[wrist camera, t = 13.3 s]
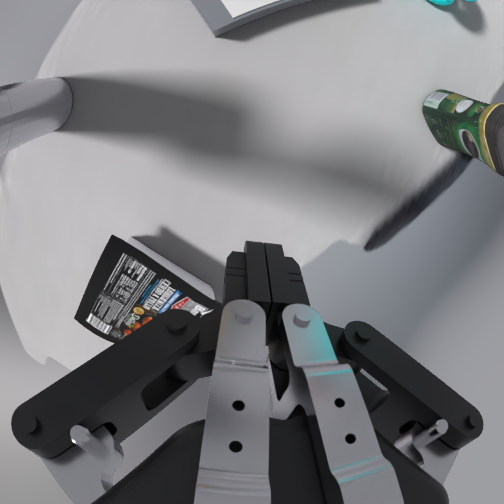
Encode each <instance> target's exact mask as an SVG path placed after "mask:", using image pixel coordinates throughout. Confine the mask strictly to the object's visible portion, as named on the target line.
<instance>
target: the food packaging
mask: <svg viewBox="0 0 504 504" xmlns="http://www.w3.org/2000/svg"><path fill="white" fill-rule="evenodd" d="M222 305H223V304H221V303H219V302H217V301H215V296H214V292H213V290H212V288H211V286H210V285H208V284H206V283H205V282H203V281H201V280H200V279H198V278H196V277H195V276H193V275H191V274H190V273H188V272H186V271H185V270H183V269H181V268H180V267H178V266H177V265H175V264H173V263H172V262H170V261H168V260H167V259H165V258H164V257H162V256H160V255H159V254H157V253H156V252H154V251H152V250H151V249H149V248H148V247H146V246H145V245H143V244H142V243H140V242H138V241H137V240H135V239H134V238H132V237H129V238H128V239H127V240H126V241H124V240H122V239H120V238H118V237H116V236H114V235H112V236H111V237H110V239H109V241H108V243H107V245H106V247H105V249H104V251H103V253H102V255H101V257H100V259H99V261H98V263H97V265H96V267H95V270H94V272H93V274H92V276H91V279H90V281H89V283H88V286H87V288H86V290H85V293H84V295H83V298H82V300H81V303H80V305H79V308H78V310H77V313H76V315H75V317H74V319H75V320H77V321H78V322H79V323H80V324H81V325H83V326H84V327H85V328H87V329H88V330H90V331H91V332H93V333H94V334H96V335H98V336H99V337H101V338H103V339H105V340H108V341H110V342H112V343H116V342H118V341H119V340H121V339H122V338H124V337H126V336H127V335H129V334H130V333H132V332H133V331H135V330H136V329H138V328H139V327H141V326H142V325H144V324H145V323H147V322H148V321H150V320H151V319H153V318H155V317H156V316H158V315H159V314H161V313H162V312H164V311H166V310H170V309H184V310H187V311H189V312H191V313H192V314H194V315H195V316H196V317H197V318H203V317H208V316H212V315H214V314H216V313H217V312H219V311H220V310H221V309H222Z"/></svg>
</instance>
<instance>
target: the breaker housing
mask: <svg viewBox="0 0 504 504" xmlns="http://www.w3.org/2000/svg"><path fill="white" fill-rule="evenodd" d="M309 1H313V0H191V2H192V3H193V5H194V6H195V8H196V9H197V10H198V12H199V13H200V15H201V16H202V18H203V19H204V21H205V22H206V24H207V25H208V27H209V28H210V30H211V31H212V33H213V34H214V36H215V37H217V36H219V35H221V34H223V33H226V32H228V31H230V30H232V29H234V28H236V27H239V26H241V25H243V24H246V23H248V22H250V21H253V20H255V19H258V18H261V17H263V16H266V15H269V14H271V13H274V12H277V11H280V10H283V9H286V8H289V7H292V6H295V5H299V4H302V3H306V2H309Z"/></svg>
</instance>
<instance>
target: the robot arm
mask: <svg viewBox="0 0 504 504" xmlns="http://www.w3.org/2000/svg"><path fill="white" fill-rule="evenodd" d="M72 102H73V100H72V92H71V89H70V87H69V85H68V84H67V82H66V81H64V80H63V79H61V78H46V79H37V80H31V81H24V82H19V83H13V84H8V85H4V86H0V155H2V154H4V153H6V152H8V151H10V150H12V149H14V148H16V147H18V146H20V145H22V144H24V143H26V142H29V141H31V140H33V139H35V138H38V137H40V136H42V135H45V134H47V133H49V132H52V131H54V130H57V129H59V128H60V127H61V126H62V125H63V124H64V123H65V122H66V120H67V119H68V117H69V115H70V112H71V109H72ZM265 346H268V347H269V354H268V357H267V361H266V363H267V366H266V365H265ZM361 369H364V370H365V371H366V372H367V373H369V374H370V375H371V376H372V377H374V378H375V379H376V380H377V381H378V382H380V383H381V384H382V385H383V386H385V387H386V388H387V389H388V390H387V391H385V390H382V389H380V388H379V387H378V386H377V385H375V384H374V383H373V382H372V381H371V380H369V379H368V378H367V377H366V376H364V375H363V374H362V373H361V372H360V370H361ZM208 376H212V377H211V384H210V391H209V398H208V405H207V411H206V418H205V419H204V420H200V421H197V422H193V423H191V424H188V425H186V426H185V427H183V428H181V429H179V430H178V431H177V432H175V433H174V434H173V435H172V436H171V437H169V438H168V439H167V440H166V441H165V442H164V443H163V444H162V445H161V446H160V447H159V448H157V449H156V450H155V451H154V452H153V453H152V454H151V455H150V456H148V457H147V458H146V459H145V460H144V461H143V462H142V463H140V464H139V465H138V466H137V467H136V468H135V469H133V470H132V471H131V472H130V473H129V474H128V475H126V476H125V477H124V478H123V479H122V480H120V481H119V482H118V483H117V484H115V485H114V486H113V483H112V480H113V476H114V473H115V472H116V471H117V469H118V468H119V467H120V466H121V464H122V463H123V459H124V453H123V449H122V447H121V445H120V443H121V442H122V441H123V440H125V439H126V438H127V437H129V436H130V435H131V434H133V433H134V432H135V431H136V430H138V429H139V428H140V427H142V426H143V425H144V424H145V423H147V422H148V421H149V420H150V419H152V418H153V417H154V416H155V415H156V414H158V413H159V412H160V411H161V410H163V409H164V408H165V407H166V406H167V405H169V404H170V403H171V402H172V401H173V400H175V399H176V398H177V397H178V396H179V395H181V394H182V393H183V392H184V391H185V390H186V389H188V388H189V387H190V386H191V385H192V384H193V383H194V382H195V381H196V380H197V379H198V378H203V377H208ZM269 381H270V386H271V392H272V398H273V404H274V410H273V418H270V417H269ZM11 422H12V423H11V425H12V431H13V434H14V436H15V438H16V439H17V441H18V442H19V443H20V444H21V445H23V446H24V447H26V448H27V449H29V450H30V451H32V452H34V453H35V454H36V455H37V456H39V457H40V458H41V459H42V460H43V462H44V463H45V465H46V466H47V468H48V469H49V471H50V472H51V474H52V475H53V477H54V478H55V479H56V481H57V482H58V483H59V485H60V486H61V487H62V489H63V490H64V491H65V493H66V494H67V495H68V496H69V498H70V499H71V500H72V501H73V503H74V504H449V498H448V495H447V492H446V490H445V488H444V487H443V483H444V481H445V479H446V477H447V475H448V473H449V471H450V469H451V467H452V465H453V463H454V461H455V458H456V456H457V454H458V452H459V450H460V448H462V447H463V446H465V445H466V444H468V443H470V442H471V441H473V440H474V439H476V438H477V437H479V436H480V434H481V433H482V430H483V419H482V416H481V414H480V412H479V411H478V410H477V409H476V408H475V407H474V406H473V405H471V404H470V403H469V402H468V401H466V400H465V399H464V398H463V397H461V396H460V395H459V394H457V393H456V392H455V391H454V390H453V389H451V388H450V387H449V386H448V385H446V384H445V383H444V382H443V381H441V380H440V379H439V378H438V377H436V376H435V375H434V374H432V373H431V372H430V371H429V370H427V369H426V368H425V367H424V366H422V365H421V364H420V363H418V362H417V361H416V360H415V359H413V358H412V357H411V356H410V355H408V354H407V353H405V352H404V351H403V350H402V349H401V348H399V347H398V346H397V345H395V344H394V343H393V342H392V341H390V340H389V339H388V338H386V337H385V336H384V335H382V334H381V333H380V332H379V331H377V330H376V329H375V328H373V327H372V326H371V325H369V324H367V323H365V322H361V321H353V322H350V323H348V324H347V325H346V327H345V329H344V328H340V327H337V326H333V325H330V324H327V323H325V322H323V321H322V318H321V316H320V315H319V313H318V312H317V311H316V310H315V309H313V308H311V307H310V303H309V299H308V295H307V292H306V289H305V285H304V282H303V277H302V275H301V271H300V267H299V265H298V263H297V262H296V261H295V260H294V259H293V258H292V257H284V253H283V248H282V245H281V244H272V243H264V244H263V243H262V242H253V241H246V242H245V247H244V252H235V251H232V252H231V254H230V255H229V256H228V257H227V262H226V270H225V279H224V288H223V305H222V309H221V310H220V311H219V312H217V313H216V314H214V315H212V316H208V317H203V318H197V317H196V316H195V315H194V314H192V313H191V312H189V311H187V310H184V309H170V310H166V311H164V312H162V313H161V314H159V315H158V316H156V317H155V318H153V319H151V320H150V321H148V322H147V323H145V324H144V325H142V326H141V327H139V328H138V329H136V330H135V331H133V332H132V333H130V334H129V335H127V336H126V337H124V338H122V339H121V340H119V341H118V342H116V343H115V344H113V345H112V346H110V347H109V348H107V349H106V350H104V351H103V352H101V353H99V354H98V355H96V356H95V357H93V358H92V359H90V360H89V361H87V362H86V363H84V364H83V365H81V366H80V367H78V368H77V369H75V370H73V371H72V372H70V373H69V374H67V375H66V376H64V377H63V378H61V379H60V380H58V381H57V382H55V383H54V384H52V385H50V386H49V387H47V388H46V389H45V390H43V391H41V392H40V393H38V394H37V395H35V396H34V397H32V398H30V399H29V400H28V401H26V402H24V403H23V404H21V405H20V406H19V407H18V408H17V409H16V410H15V412H14V413H13V416H12V421H11Z"/></svg>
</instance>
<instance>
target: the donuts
mask: <svg viewBox="0 0 504 504" xmlns="http://www.w3.org/2000/svg"><path fill="white" fill-rule="evenodd" d="M429 1H431V2H433V3H435V4H438V5H449V4H451V3H453V2H454V0H429ZM466 1H477V0H466Z"/></svg>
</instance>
